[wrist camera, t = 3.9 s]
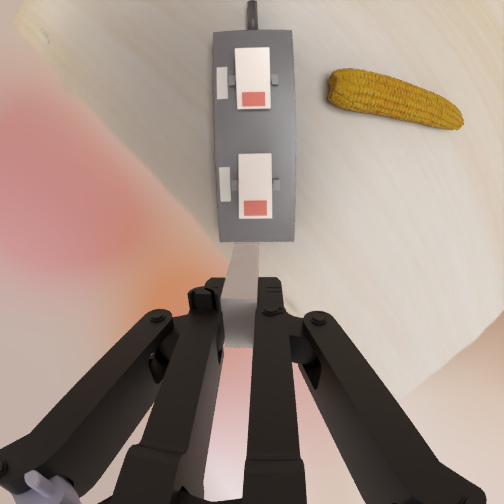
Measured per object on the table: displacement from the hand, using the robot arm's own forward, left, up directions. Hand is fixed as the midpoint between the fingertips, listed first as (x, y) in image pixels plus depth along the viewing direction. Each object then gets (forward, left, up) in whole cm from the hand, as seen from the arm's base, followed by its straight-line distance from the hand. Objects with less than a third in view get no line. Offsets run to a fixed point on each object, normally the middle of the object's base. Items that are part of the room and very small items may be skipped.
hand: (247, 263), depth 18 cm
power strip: (-12, 0, -19) cm, 22 cm away
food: (-15, +19, -19) cm, 31 cm away
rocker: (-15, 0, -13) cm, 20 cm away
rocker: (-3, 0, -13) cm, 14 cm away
